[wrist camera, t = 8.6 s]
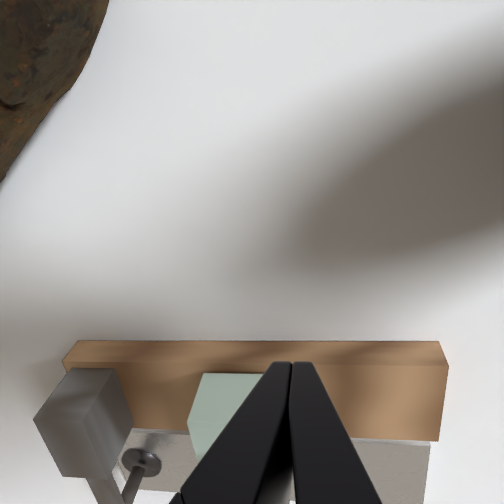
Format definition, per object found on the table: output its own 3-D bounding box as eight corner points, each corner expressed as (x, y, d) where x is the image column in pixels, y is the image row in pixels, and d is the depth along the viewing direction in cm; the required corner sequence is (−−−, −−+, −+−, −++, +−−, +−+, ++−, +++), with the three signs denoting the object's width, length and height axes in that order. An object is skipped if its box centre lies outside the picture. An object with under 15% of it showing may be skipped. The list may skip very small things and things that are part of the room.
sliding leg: (271, 362, 24) (258, 456, 19) (289, 504, 30) (283, 604, 25) (207, 362, 25) (176, 452, 19) (237, 500, 31) (220, 596, 26)
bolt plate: (427, 435, 27) (431, 448, 26) (419, 498, 30) (422, 512, 29) (110, 422, 31) (104, 432, 30) (133, 479, 34) (128, 490, 33)
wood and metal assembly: (438, 341, 23) (474, 429, 18) (420, 494, 30) (442, 592, 24) (78, 340, 27) (21, 412, 22) (131, 475, 34) (97, 555, 29)
